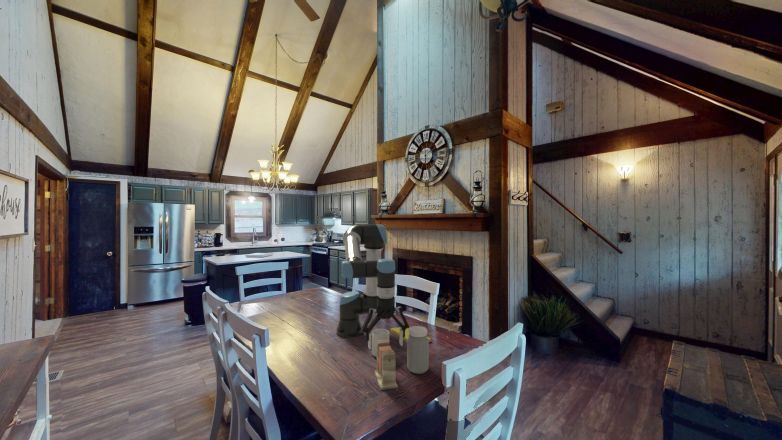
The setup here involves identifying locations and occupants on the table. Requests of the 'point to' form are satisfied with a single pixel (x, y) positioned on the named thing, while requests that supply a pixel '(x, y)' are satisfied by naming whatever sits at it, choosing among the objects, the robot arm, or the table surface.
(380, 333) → the mug
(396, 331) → the yellow rectangular slab
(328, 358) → the table surface
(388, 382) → the tan blocky piece
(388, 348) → the orange piece
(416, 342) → the jar
